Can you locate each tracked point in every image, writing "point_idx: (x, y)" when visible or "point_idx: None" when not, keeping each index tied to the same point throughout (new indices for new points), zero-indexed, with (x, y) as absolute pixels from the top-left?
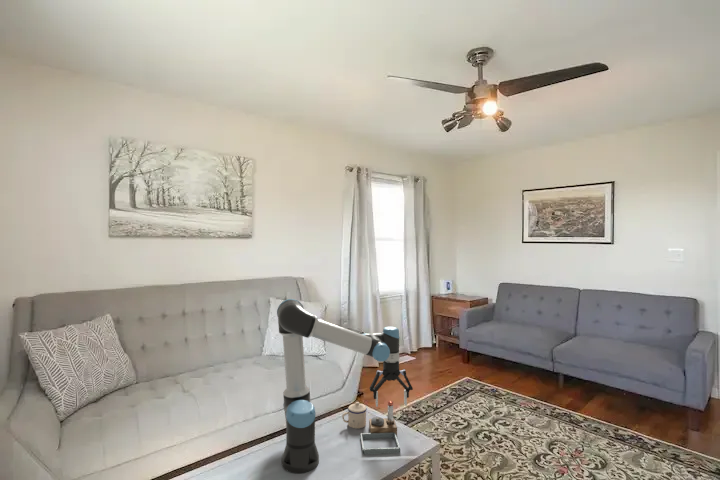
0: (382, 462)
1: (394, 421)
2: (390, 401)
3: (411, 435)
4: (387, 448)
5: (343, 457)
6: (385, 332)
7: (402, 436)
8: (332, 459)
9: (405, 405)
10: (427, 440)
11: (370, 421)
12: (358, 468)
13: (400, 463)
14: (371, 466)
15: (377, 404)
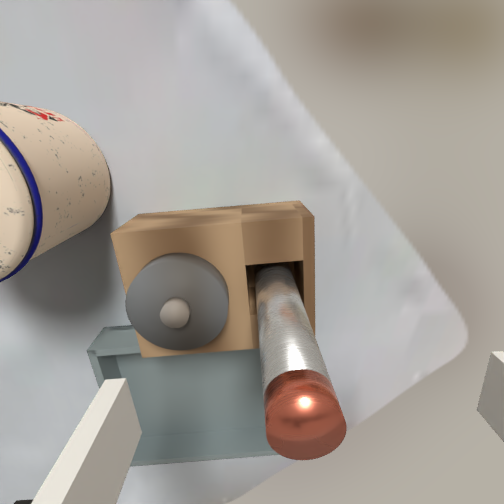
0: (218, 461)
1: (310, 269)
2: (307, 423)
3: (388, 277)
4: (240, 456)
5: (56, 443)
6: None
7: (335, 288)
8: (15, 455)
9: (482, 410)
10: (457, 319)
11: (126, 275)
12: (130, 490)
13: (287, 463)
14: (177, 480)
15: (125, 460)
